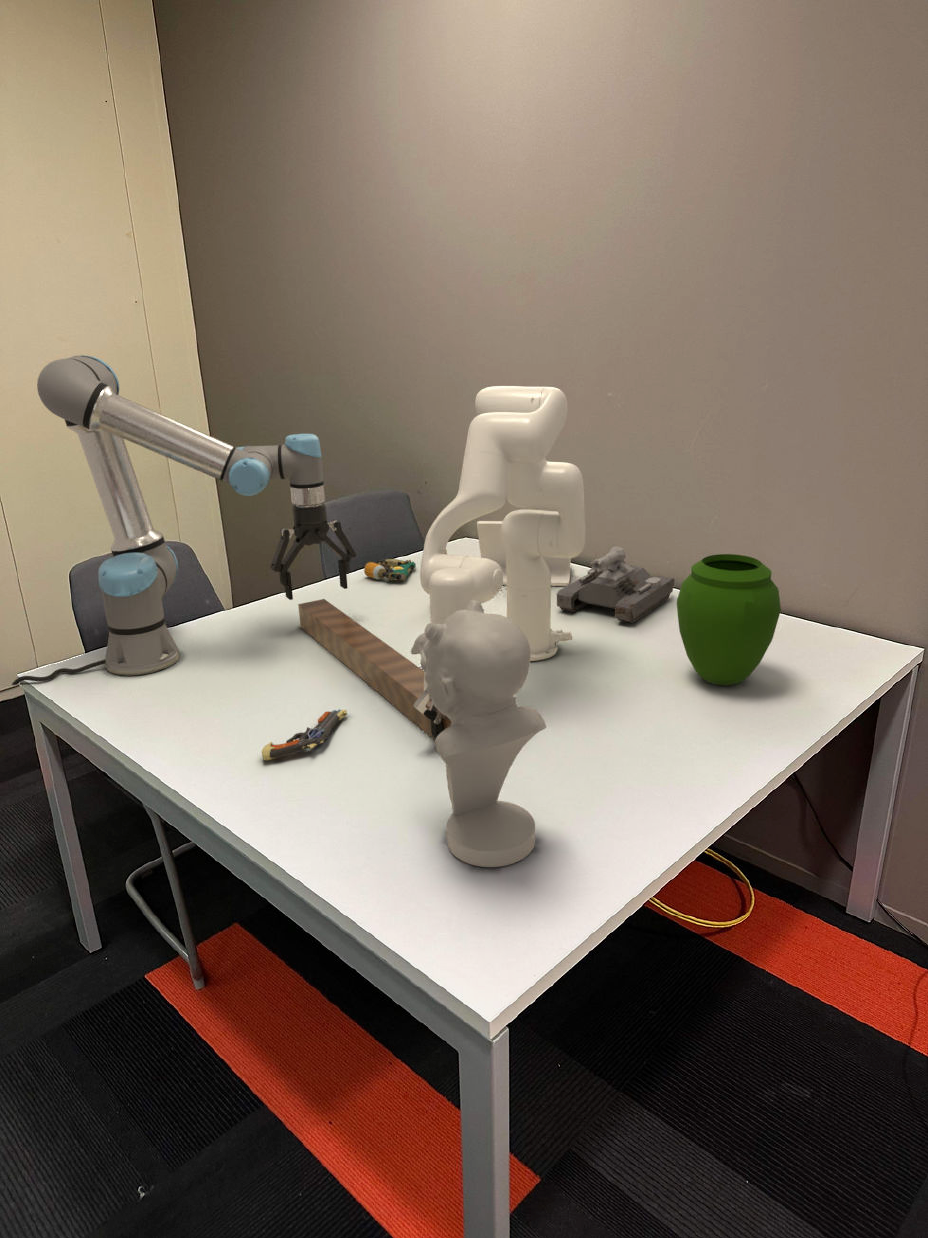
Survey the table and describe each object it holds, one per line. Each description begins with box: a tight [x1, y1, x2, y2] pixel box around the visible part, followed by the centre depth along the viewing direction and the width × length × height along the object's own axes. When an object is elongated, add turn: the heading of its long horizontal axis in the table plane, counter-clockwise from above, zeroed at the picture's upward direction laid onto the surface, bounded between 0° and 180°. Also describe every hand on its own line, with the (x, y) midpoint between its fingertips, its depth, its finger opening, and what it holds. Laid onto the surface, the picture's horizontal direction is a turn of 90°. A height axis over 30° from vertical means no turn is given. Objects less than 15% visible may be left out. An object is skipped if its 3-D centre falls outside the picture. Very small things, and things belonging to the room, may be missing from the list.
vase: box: [676, 553, 782, 686], centre depth 168 cm, size 20×20×24 cm
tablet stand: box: [476, 520, 572, 587], centre depth 236 cm, size 18×25×17 cm
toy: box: [556, 546, 676, 624], centre depth 212 cm, size 25×20×15 cm
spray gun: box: [363, 558, 417, 582], centre depth 242 cm, size 4×17×15 cm
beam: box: [297, 598, 451, 741], centre depth 177 cm, size 74×7×6 cm, turn 31°
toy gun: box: [261, 708, 348, 761], centre depth 153 cm, size 3×19×10 cm
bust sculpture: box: [410, 600, 547, 868], centre depth 121 cm, size 16×24×35 cm
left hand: (317, 592), depth 201 cm, fingers open, 13 cm apart
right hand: (457, 734), depth 151 cm, fingers closed on beam, 6 cm apart
